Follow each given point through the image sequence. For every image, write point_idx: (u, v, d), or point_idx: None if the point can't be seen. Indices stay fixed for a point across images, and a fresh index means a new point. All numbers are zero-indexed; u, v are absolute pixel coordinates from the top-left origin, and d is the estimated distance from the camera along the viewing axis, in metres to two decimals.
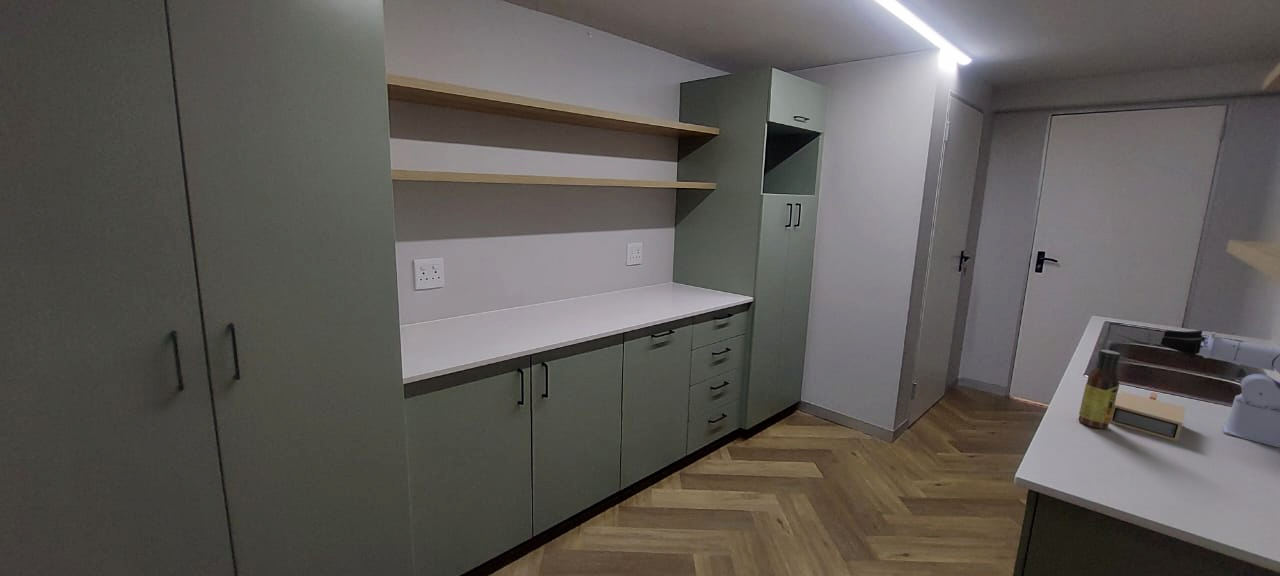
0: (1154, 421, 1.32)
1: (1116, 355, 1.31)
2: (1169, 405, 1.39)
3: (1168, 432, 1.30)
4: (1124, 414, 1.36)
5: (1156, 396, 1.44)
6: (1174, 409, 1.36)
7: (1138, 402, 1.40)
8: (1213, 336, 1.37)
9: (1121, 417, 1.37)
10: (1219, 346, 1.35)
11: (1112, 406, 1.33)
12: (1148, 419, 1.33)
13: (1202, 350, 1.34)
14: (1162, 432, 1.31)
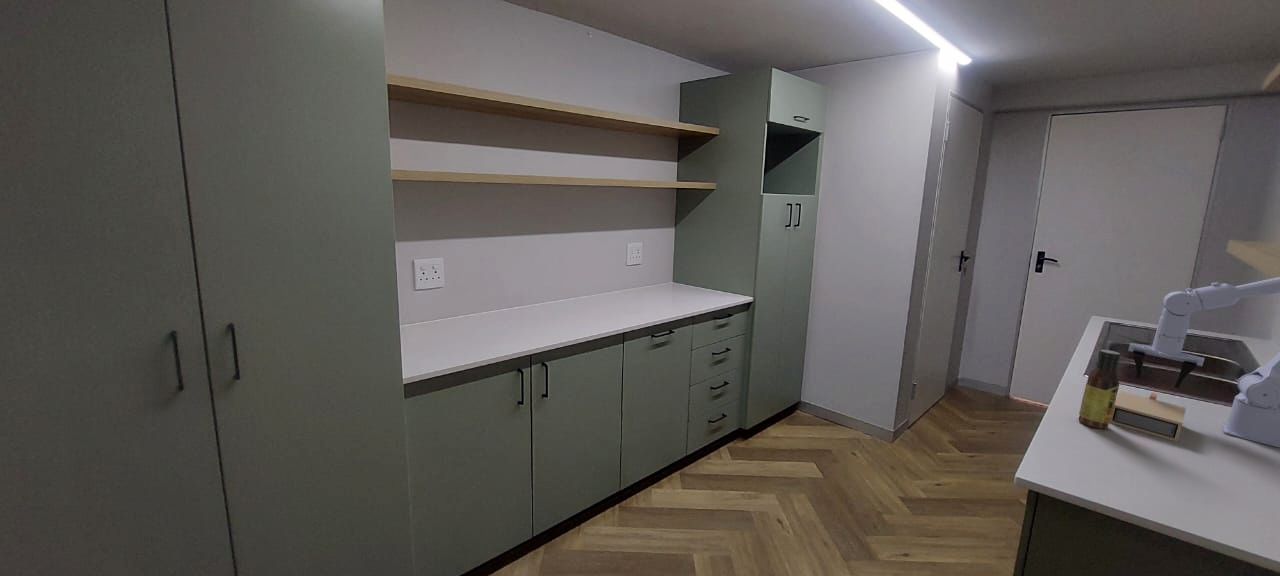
0: (1154, 421, 1.32)
1: (1116, 355, 1.31)
2: (1169, 405, 1.39)
3: (1168, 432, 1.30)
4: (1124, 414, 1.36)
5: (1156, 396, 1.44)
6: (1174, 409, 1.36)
7: (1138, 402, 1.40)
8: (1170, 355, 1.40)
9: (1121, 417, 1.37)
10: (1180, 349, 1.39)
11: (1112, 406, 1.33)
12: (1148, 419, 1.33)
13: (1202, 364, 1.37)
14: (1162, 432, 1.31)
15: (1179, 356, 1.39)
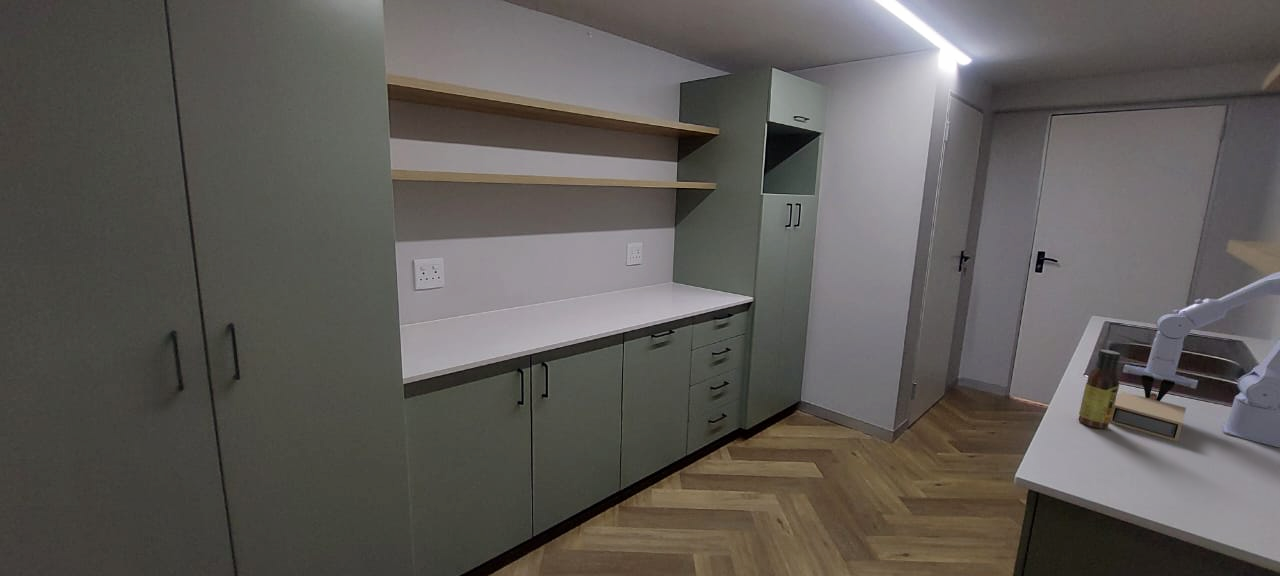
0: (1154, 421, 1.32)
1: (1116, 355, 1.31)
2: (1169, 405, 1.39)
3: (1168, 432, 1.30)
4: (1124, 414, 1.36)
5: (1156, 396, 1.44)
6: (1174, 409, 1.36)
7: (1138, 402, 1.40)
8: (1164, 377, 1.41)
9: (1121, 417, 1.37)
10: (1174, 372, 1.41)
11: (1112, 406, 1.33)
12: (1148, 419, 1.33)
13: None
14: (1162, 432, 1.31)
15: (1173, 378, 1.40)
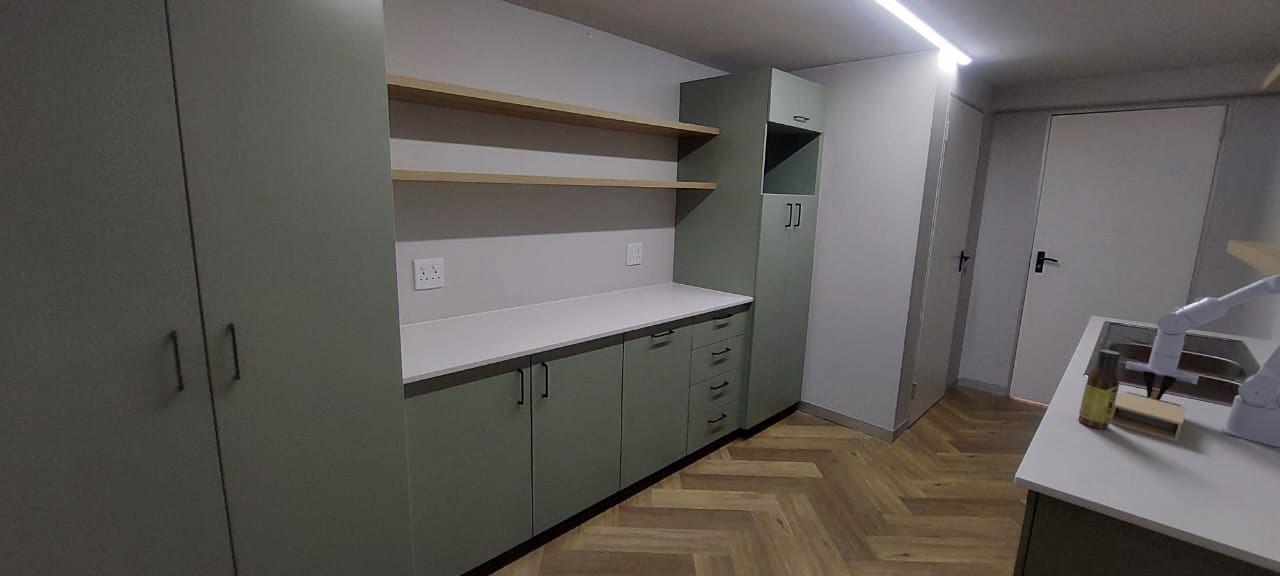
0: None
1: (1116, 355, 1.31)
2: (1169, 405, 1.39)
3: (1170, 426, 1.34)
4: None
5: None
6: (1174, 409, 1.36)
7: (1138, 402, 1.40)
8: (1165, 373, 1.44)
9: (1124, 412, 1.40)
10: (1175, 368, 1.44)
11: (1112, 406, 1.33)
12: None
13: (1196, 382, 1.42)
14: (1164, 426, 1.34)
15: (1174, 374, 1.44)
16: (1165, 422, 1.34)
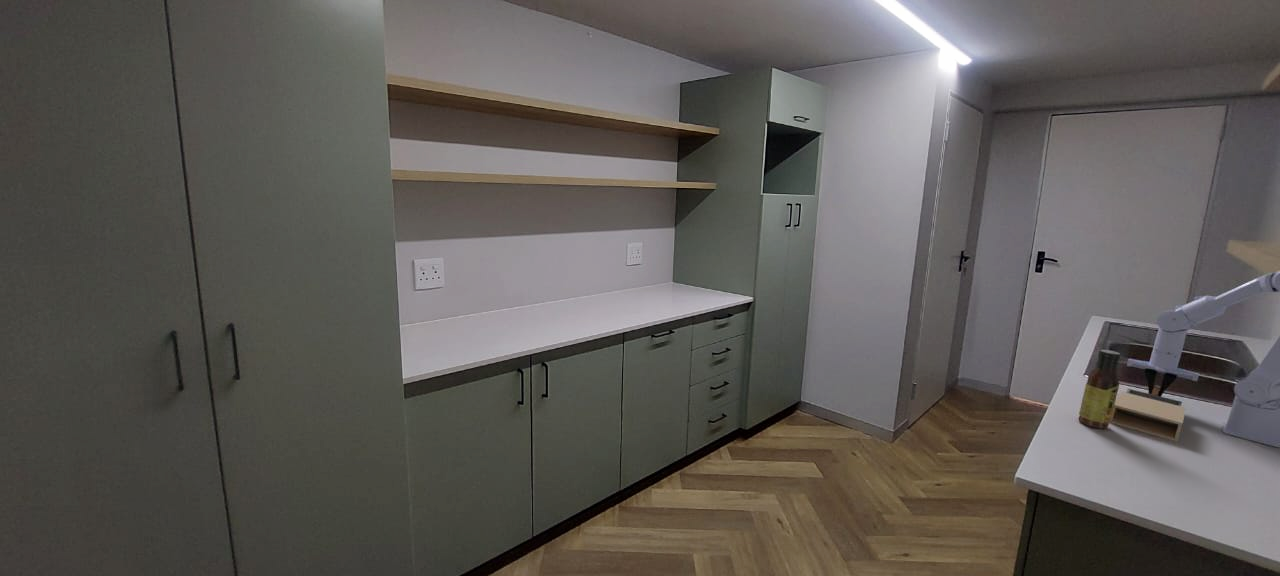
0: None
1: (1116, 355, 1.31)
2: (1169, 405, 1.39)
3: None
4: None
5: (1159, 389, 1.50)
6: (1174, 409, 1.36)
7: (1138, 402, 1.40)
8: (1166, 370, 1.47)
9: None
10: (1176, 365, 1.47)
11: (1112, 406, 1.33)
12: None
13: (1197, 379, 1.44)
14: (1165, 422, 1.37)
15: (1175, 371, 1.46)
16: None
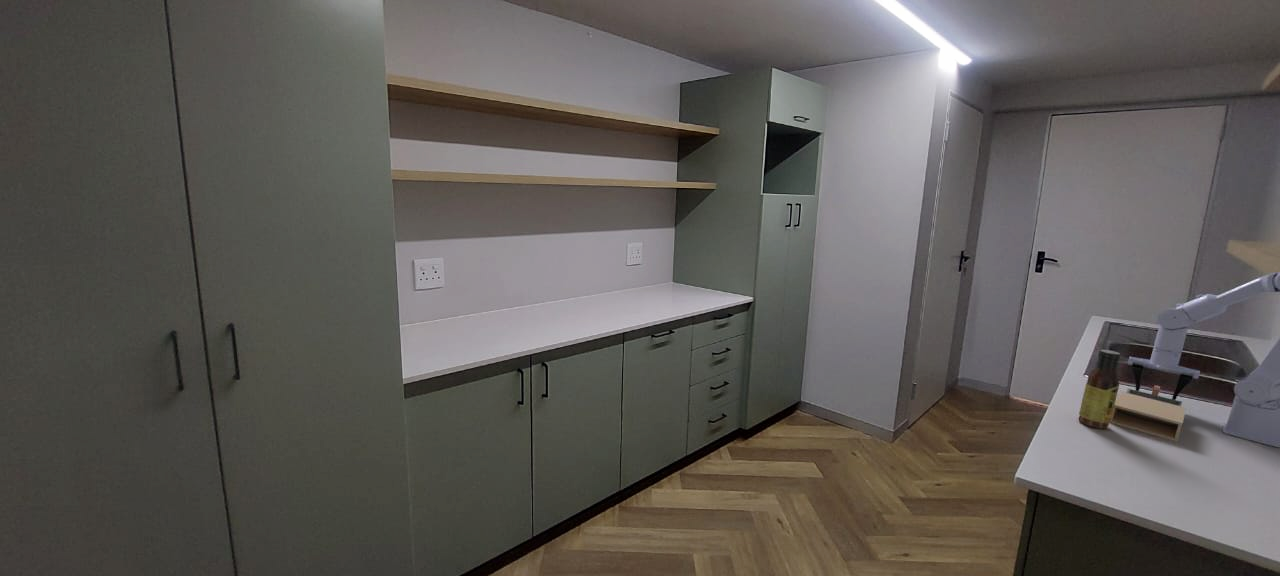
0: None
1: (1116, 355, 1.31)
2: (1169, 405, 1.39)
3: None
4: None
5: (1159, 389, 1.50)
6: (1174, 409, 1.36)
7: (1138, 402, 1.40)
8: (1167, 368, 1.47)
9: None
10: (1177, 363, 1.47)
11: (1112, 406, 1.33)
12: None
13: None
14: (1165, 422, 1.37)
15: (1176, 369, 1.46)
16: None
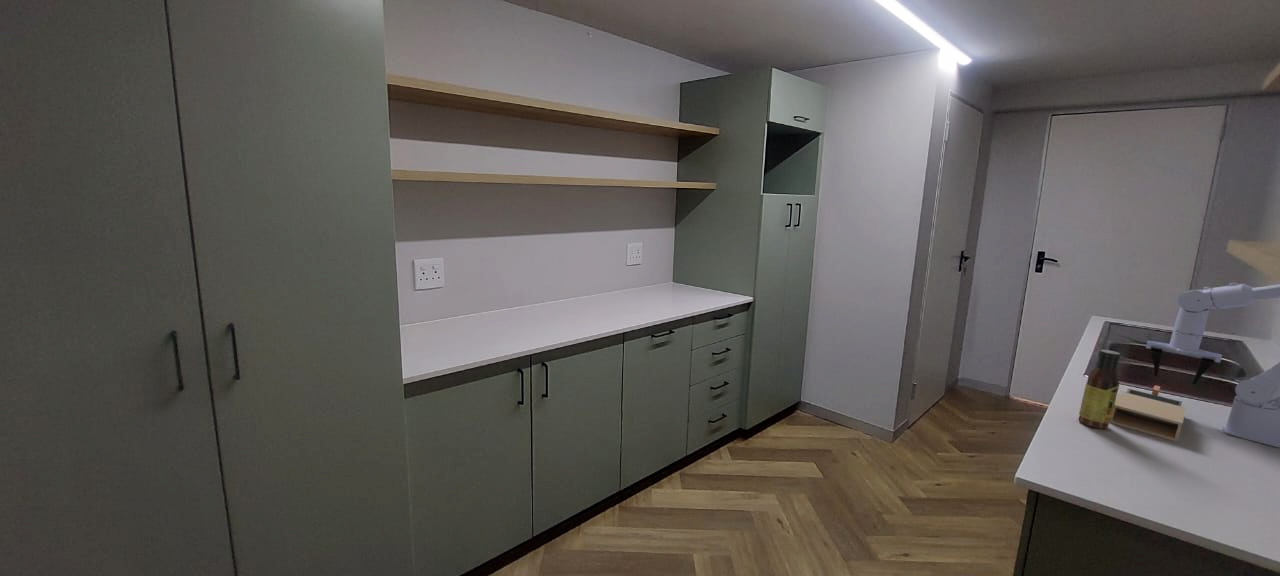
0: None
1: (1116, 355, 1.31)
2: (1169, 405, 1.39)
3: None
4: None
5: (1159, 389, 1.50)
6: (1174, 409, 1.36)
7: (1138, 402, 1.40)
8: (1188, 351, 1.42)
9: None
10: (1198, 346, 1.42)
11: (1112, 406, 1.33)
12: None
13: (1220, 360, 1.39)
14: (1165, 422, 1.37)
15: (1197, 353, 1.41)
16: None
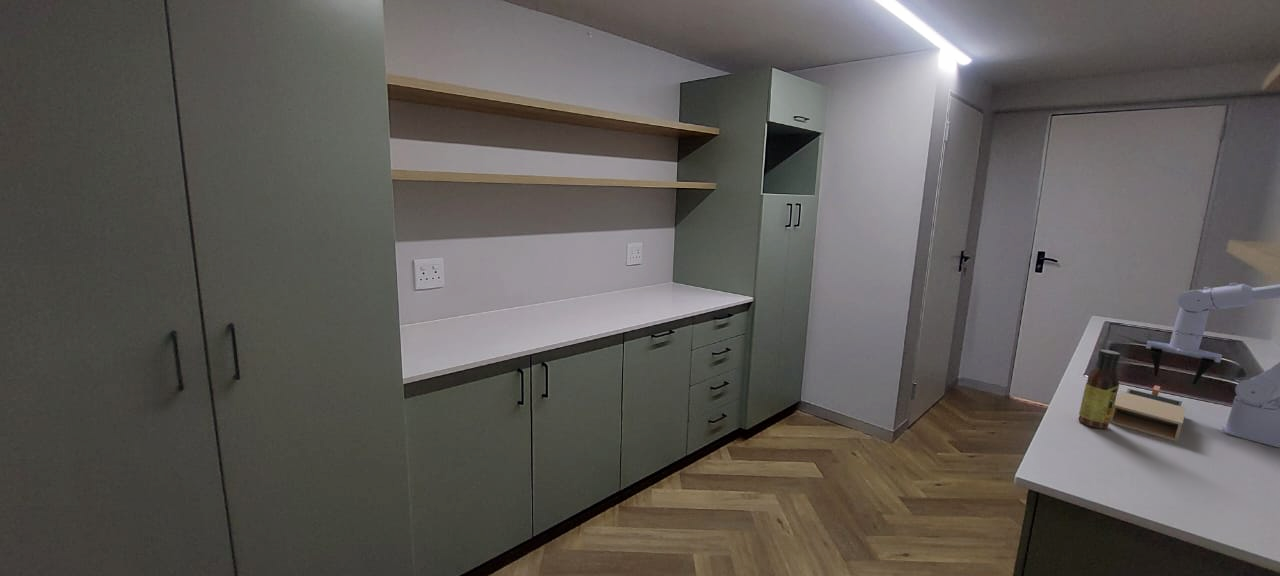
0: None
1: (1116, 355, 1.31)
2: (1169, 405, 1.39)
3: None
4: None
5: (1159, 389, 1.50)
6: (1174, 409, 1.36)
7: (1138, 402, 1.40)
8: (1188, 351, 1.42)
9: None
10: (1198, 346, 1.42)
11: (1112, 406, 1.33)
12: None
13: (1220, 360, 1.39)
14: (1165, 422, 1.37)
15: (1197, 353, 1.41)
16: None
